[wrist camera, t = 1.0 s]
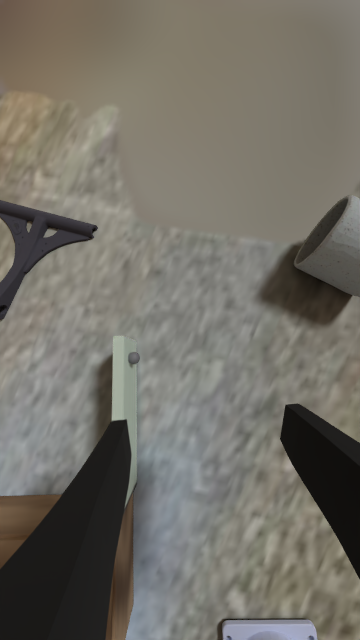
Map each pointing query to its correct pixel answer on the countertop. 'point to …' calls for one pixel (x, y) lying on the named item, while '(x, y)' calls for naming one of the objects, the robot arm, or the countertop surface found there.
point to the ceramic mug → (335, 247)
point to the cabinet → (28, 511)
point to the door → (126, 395)
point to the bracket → (35, 242)
